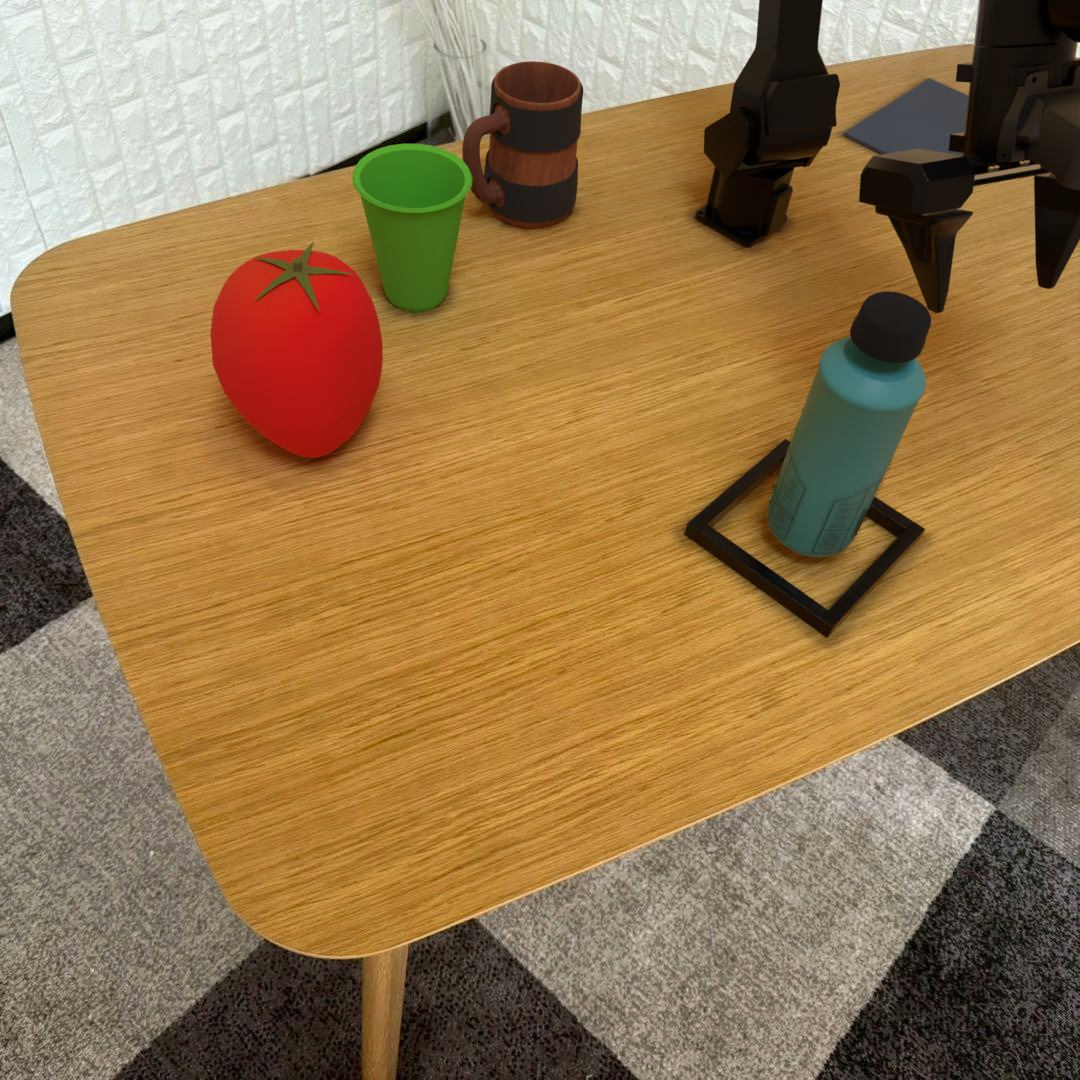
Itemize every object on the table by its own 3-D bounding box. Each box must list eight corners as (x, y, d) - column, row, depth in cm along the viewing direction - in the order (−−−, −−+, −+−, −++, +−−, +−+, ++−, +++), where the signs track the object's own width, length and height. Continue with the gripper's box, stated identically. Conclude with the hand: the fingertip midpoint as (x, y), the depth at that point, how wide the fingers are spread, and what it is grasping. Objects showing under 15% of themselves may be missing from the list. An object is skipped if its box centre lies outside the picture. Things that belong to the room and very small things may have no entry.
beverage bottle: (849, 582, 69) (965, 358, 54) (752, 563, 70) (839, 335, 54) (850, 511, 73) (958, 285, 58) (758, 493, 74) (841, 263, 58)
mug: (434, 208, 93) (433, 84, 84) (535, 168, 99) (543, 48, 89) (492, 255, 89) (497, 131, 80) (594, 211, 95) (609, 90, 86)
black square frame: (683, 534, 71) (687, 523, 70) (781, 449, 77) (785, 438, 76) (827, 638, 66) (832, 627, 65) (919, 539, 72) (925, 528, 71)
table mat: (842, 135, 107) (844, 132, 106) (928, 81, 116) (929, 78, 115) (943, 184, 102) (945, 181, 102) (1024, 124, 111) (1025, 121, 111)
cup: (386, 339, 82) (379, 220, 73) (345, 274, 86) (334, 155, 78) (487, 312, 85) (492, 194, 76) (443, 250, 89) (442, 133, 81)
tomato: (395, 477, 72) (385, 320, 61) (230, 492, 70) (190, 332, 59) (379, 359, 80) (368, 200, 69) (230, 370, 78) (194, 208, 67)
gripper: (997, 64, 52) (962, 358, 59) (1267, 27, 57) (1203, 302, 64) (862, 58, 61) (846, 313, 68) (1104, 26, 66) (1064, 267, 74)
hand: (991, 299), depth 68 cm, fingers open, 9 cm apart
